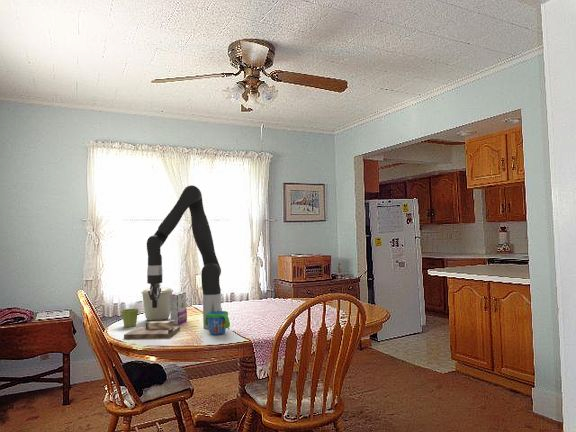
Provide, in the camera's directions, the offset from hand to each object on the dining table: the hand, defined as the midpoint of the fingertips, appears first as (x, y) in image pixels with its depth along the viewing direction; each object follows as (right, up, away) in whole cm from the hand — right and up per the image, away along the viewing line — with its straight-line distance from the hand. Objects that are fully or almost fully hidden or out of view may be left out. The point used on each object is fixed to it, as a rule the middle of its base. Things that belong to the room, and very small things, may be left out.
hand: (154, 307), depth 222 cm
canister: (-7, -13, +29) cm, 33 cm away
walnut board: (+3, -11, -13) cm, 17 cm away
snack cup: (+35, -10, -15) cm, 39 cm away
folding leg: (+5, -9, -8) cm, 13 cm away
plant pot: (-17, -13, +11) cm, 24 cm away
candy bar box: (+8, -12, +16) cm, 22 cm away
